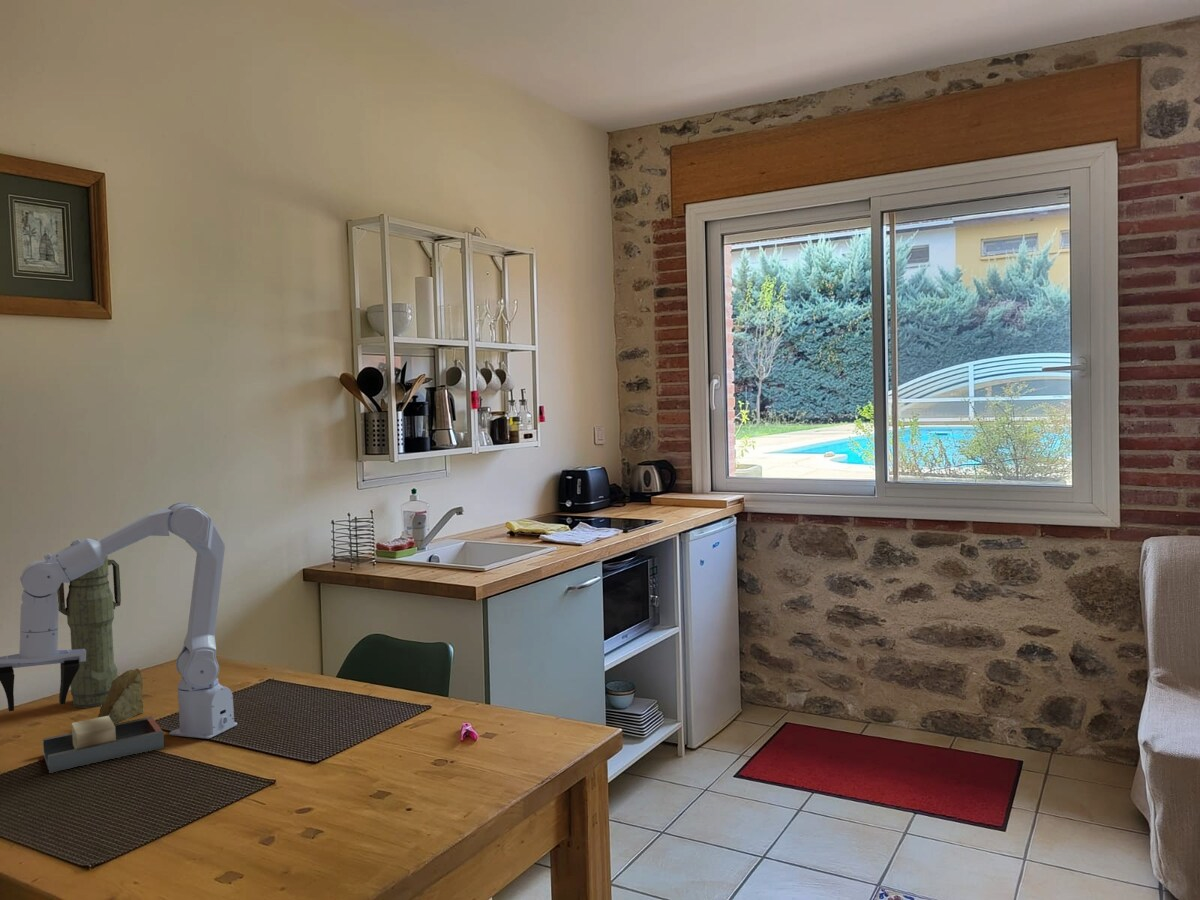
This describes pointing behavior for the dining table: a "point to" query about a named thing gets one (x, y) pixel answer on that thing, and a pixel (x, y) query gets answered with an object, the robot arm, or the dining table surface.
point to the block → (93, 732)
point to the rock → (124, 697)
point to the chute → (104, 745)
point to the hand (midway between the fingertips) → (37, 706)
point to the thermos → (92, 632)
